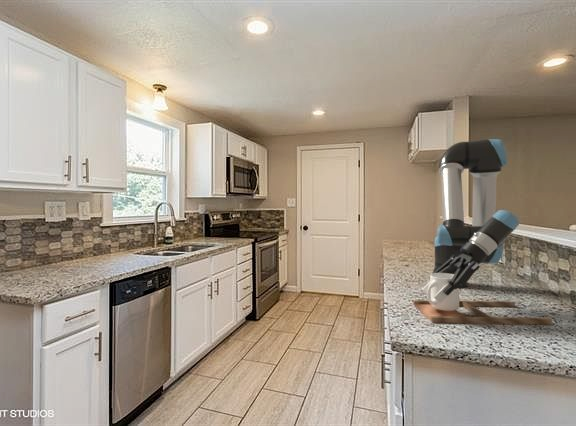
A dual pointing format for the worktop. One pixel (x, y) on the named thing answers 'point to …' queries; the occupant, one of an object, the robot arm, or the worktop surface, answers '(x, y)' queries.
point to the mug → (436, 285)
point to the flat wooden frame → (457, 317)
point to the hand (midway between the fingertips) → (430, 296)
